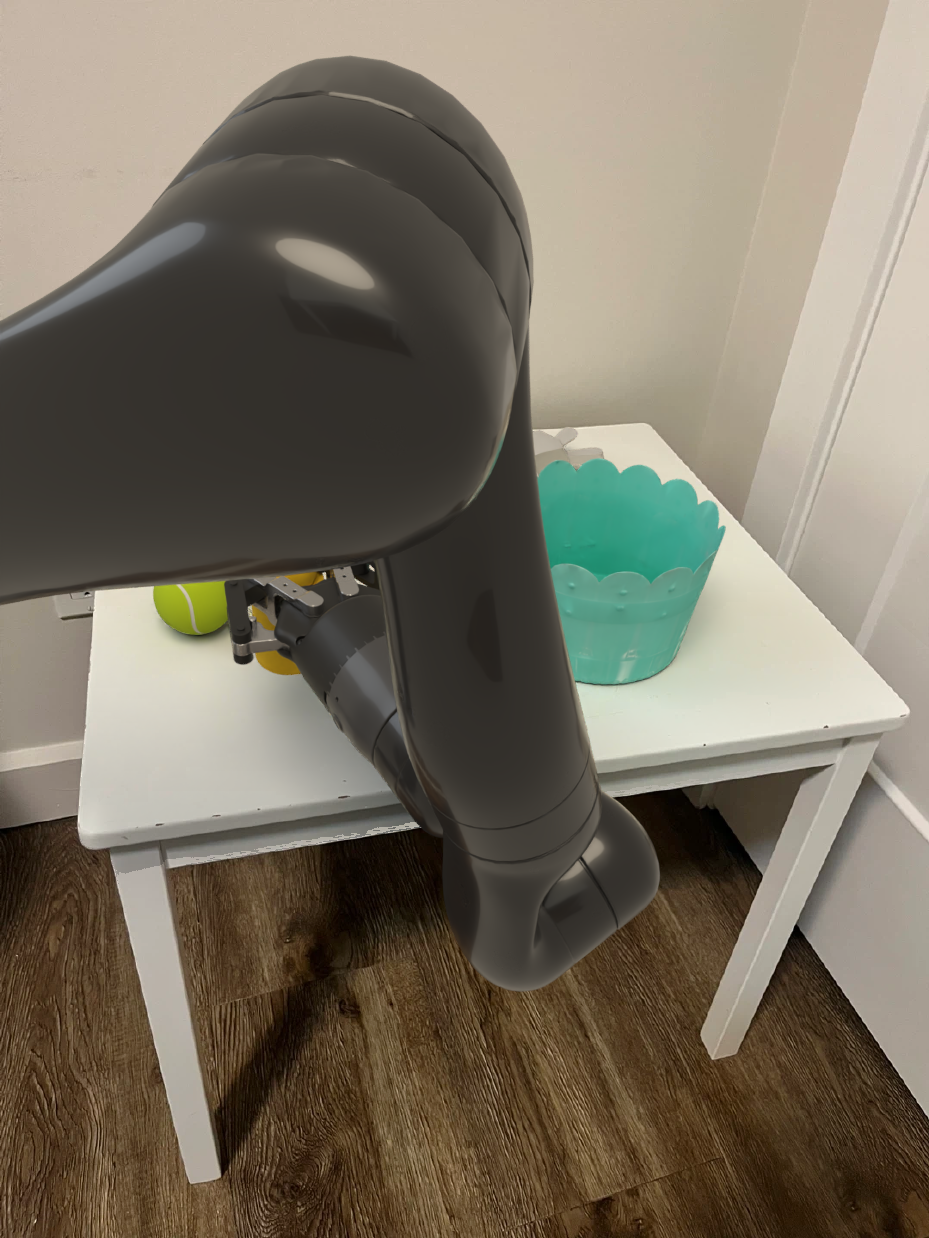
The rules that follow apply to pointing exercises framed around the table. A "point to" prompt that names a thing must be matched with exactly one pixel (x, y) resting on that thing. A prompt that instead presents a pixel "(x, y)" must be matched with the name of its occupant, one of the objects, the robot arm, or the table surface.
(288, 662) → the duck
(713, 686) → the table surface
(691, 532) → the basket
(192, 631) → the tennis ball
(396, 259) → the robot arm
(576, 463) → the bunny figurine
